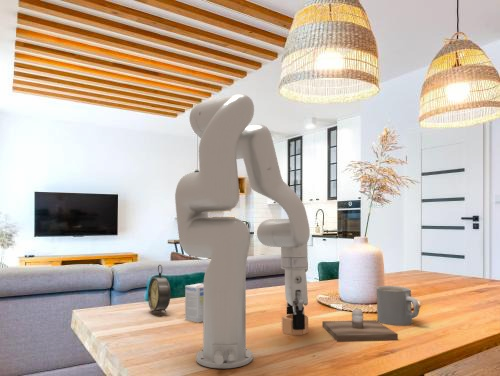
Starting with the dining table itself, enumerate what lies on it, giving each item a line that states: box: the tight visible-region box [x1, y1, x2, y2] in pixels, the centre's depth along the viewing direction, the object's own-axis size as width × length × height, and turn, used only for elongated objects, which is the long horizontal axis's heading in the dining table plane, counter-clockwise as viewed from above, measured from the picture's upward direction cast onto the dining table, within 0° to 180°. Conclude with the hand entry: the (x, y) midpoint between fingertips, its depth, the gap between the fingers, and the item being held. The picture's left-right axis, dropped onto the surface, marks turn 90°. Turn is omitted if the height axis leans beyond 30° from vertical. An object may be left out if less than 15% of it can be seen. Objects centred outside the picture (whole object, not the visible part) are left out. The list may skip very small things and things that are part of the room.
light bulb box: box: [184, 282, 204, 324], centre depth 131 cm, size 11×7×11 cm, turn 141°
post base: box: [321, 308, 399, 342], centre depth 114 cm, size 15×16×6 cm
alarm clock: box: [147, 264, 172, 317], centre depth 138 cm, size 11×5×16 cm, turn 31°
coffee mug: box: [376, 285, 420, 327], centre depth 125 cm, size 13×10×10 cm
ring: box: [281, 313, 309, 336], centre depth 115 cm, size 7×7×4 cm
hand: (295, 324), depth 115 cm, fingers open, 9 cm apart
